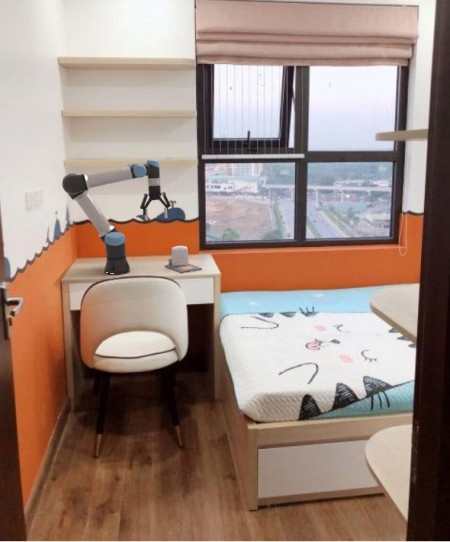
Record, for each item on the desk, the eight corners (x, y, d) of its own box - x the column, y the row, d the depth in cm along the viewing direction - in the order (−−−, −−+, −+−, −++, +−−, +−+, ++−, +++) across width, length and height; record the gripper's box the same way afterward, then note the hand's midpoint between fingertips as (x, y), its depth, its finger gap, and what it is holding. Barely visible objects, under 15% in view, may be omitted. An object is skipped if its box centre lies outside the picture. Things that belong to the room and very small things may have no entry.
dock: (181, 273, 309) (180, 265, 308) (165, 266, 327) (164, 259, 326) (201, 269, 316) (201, 262, 315) (184, 263, 334) (184, 256, 333)
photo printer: (188, 264, 327) (187, 244, 324) (189, 265, 323) (188, 246, 320) (171, 265, 325) (170, 245, 323) (172, 266, 321) (171, 247, 318)
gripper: (138, 186, 315) (140, 221, 320) (174, 184, 328) (176, 217, 333) (133, 186, 321) (135, 220, 326) (169, 183, 334) (171, 216, 339)
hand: (156, 219), depth 330 cm, fingers open, 13 cm apart
